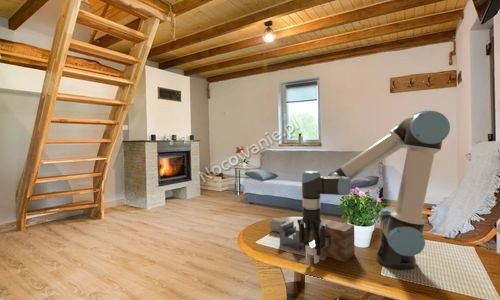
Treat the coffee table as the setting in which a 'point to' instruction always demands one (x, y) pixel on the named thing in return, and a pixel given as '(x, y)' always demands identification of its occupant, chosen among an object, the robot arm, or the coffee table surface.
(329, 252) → the brown wooden box
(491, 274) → the coffee table surface
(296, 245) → the v block
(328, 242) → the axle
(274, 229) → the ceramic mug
